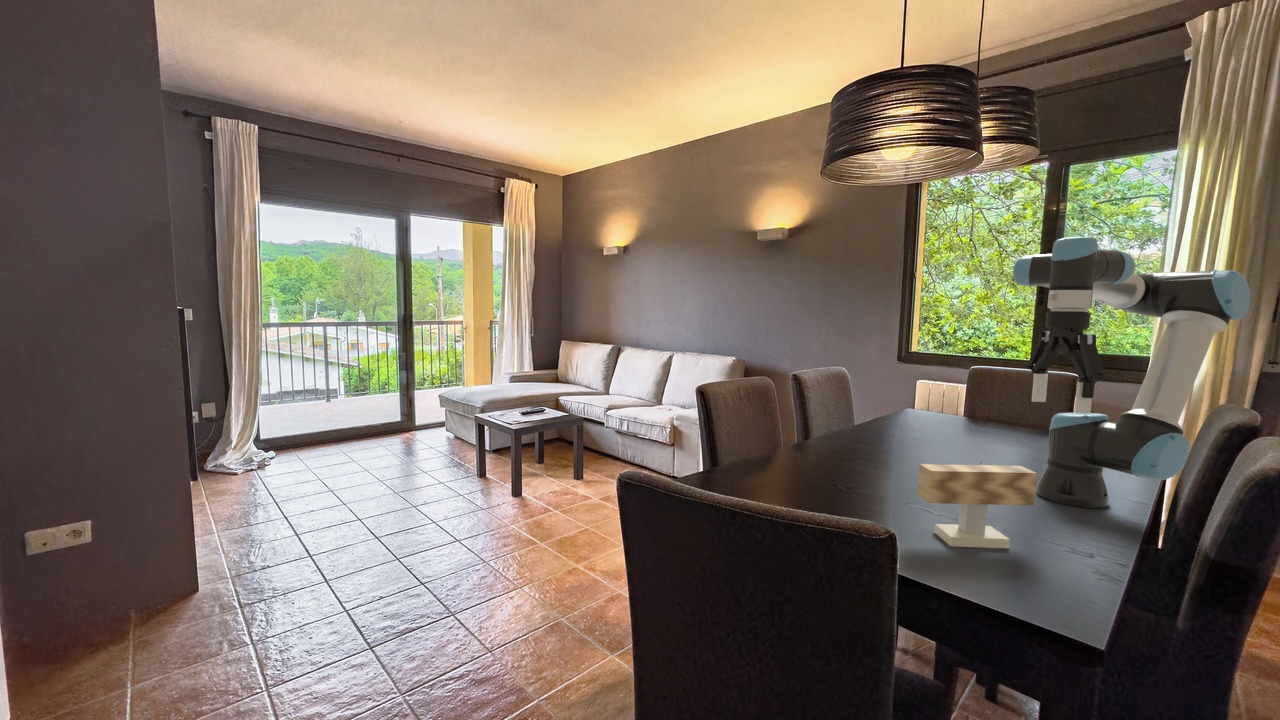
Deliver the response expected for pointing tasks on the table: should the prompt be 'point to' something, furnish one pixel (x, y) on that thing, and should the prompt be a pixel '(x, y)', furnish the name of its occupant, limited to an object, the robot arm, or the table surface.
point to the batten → (976, 484)
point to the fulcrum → (972, 529)
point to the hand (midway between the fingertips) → (1059, 407)
